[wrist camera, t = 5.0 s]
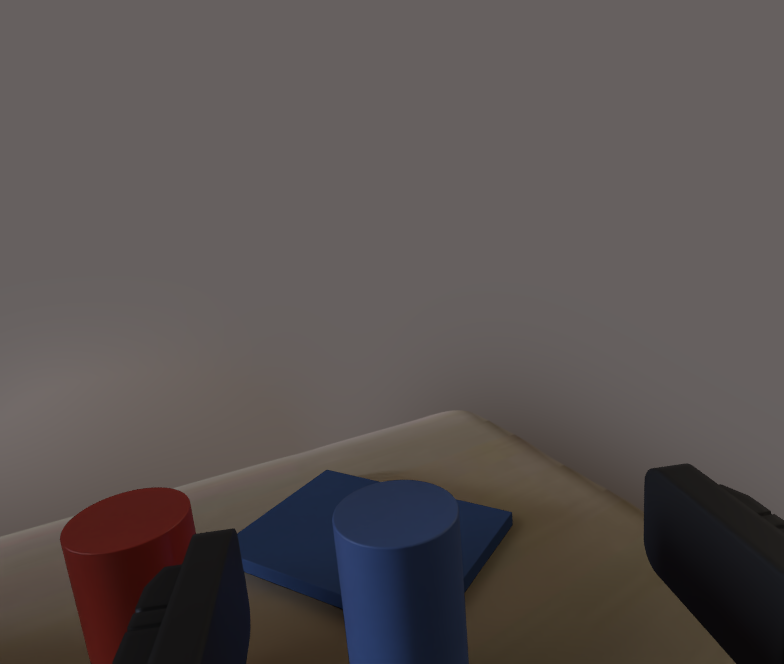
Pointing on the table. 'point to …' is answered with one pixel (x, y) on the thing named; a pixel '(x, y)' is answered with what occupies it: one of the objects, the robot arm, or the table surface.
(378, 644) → the blue cylinder
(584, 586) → the table surface
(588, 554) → the table surface
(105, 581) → the red cylinder
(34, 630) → the table surface
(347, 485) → the blue mat
